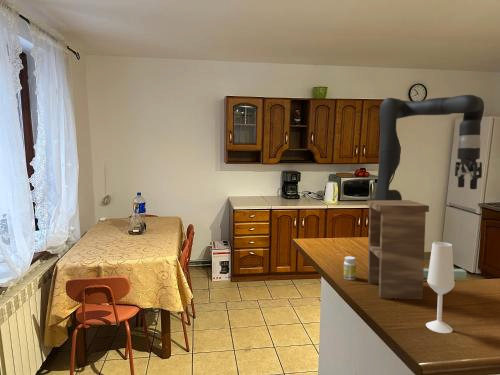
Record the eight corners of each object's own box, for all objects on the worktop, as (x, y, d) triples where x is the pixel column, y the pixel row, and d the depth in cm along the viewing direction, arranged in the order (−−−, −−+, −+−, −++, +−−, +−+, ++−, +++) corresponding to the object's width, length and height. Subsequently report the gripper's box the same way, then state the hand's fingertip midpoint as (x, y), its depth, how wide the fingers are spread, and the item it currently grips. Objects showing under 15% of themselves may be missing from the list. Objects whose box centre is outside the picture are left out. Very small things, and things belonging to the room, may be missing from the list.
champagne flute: (430, 319, 102) (433, 239, 100) (456, 327, 97) (459, 243, 95) (421, 327, 97) (424, 243, 95) (448, 335, 92) (451, 248, 90)
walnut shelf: (365, 281, 133) (366, 200, 131) (407, 282, 132) (409, 200, 130) (377, 298, 117) (379, 205, 115) (425, 299, 116) (428, 205, 114)
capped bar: (390, 274, 142) (390, 265, 141) (460, 275, 140) (461, 266, 140) (394, 278, 137) (394, 268, 137) (467, 279, 135) (467, 269, 135)
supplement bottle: (356, 276, 139) (356, 256, 138) (355, 280, 135) (356, 259, 134) (343, 275, 141) (344, 255, 140) (343, 279, 136) (343, 258, 136)
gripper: (449, 147, 142) (447, 186, 143) (469, 146, 128) (467, 189, 129) (468, 147, 141) (466, 186, 143) (490, 146, 127) (488, 189, 129)
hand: (466, 188), depth 136 cm, fingers open, 8 cm apart
